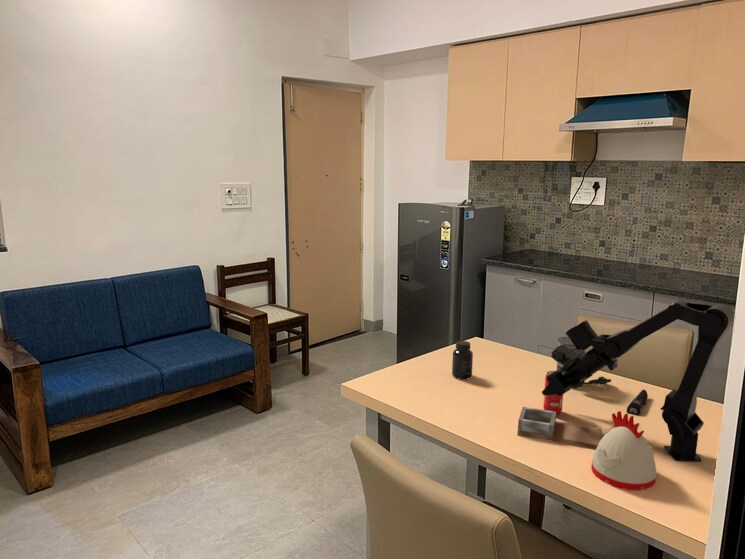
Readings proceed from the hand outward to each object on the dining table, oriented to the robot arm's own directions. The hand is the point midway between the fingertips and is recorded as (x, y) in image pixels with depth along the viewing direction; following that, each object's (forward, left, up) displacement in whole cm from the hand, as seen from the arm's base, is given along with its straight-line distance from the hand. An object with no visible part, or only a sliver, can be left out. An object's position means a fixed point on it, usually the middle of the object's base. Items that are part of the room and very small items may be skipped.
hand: (549, 389), depth 166 cm
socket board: (-14, 0, -7) cm, 16 cm away
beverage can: (-1, -1, -7) cm, 7 cm away
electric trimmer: (+6, -28, -7) cm, 29 cm away
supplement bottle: (+26, +23, -7) cm, 35 cm away
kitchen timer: (-33, -10, -7) cm, 36 cm away
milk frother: (+22, -16, -7) cm, 28 cm away
